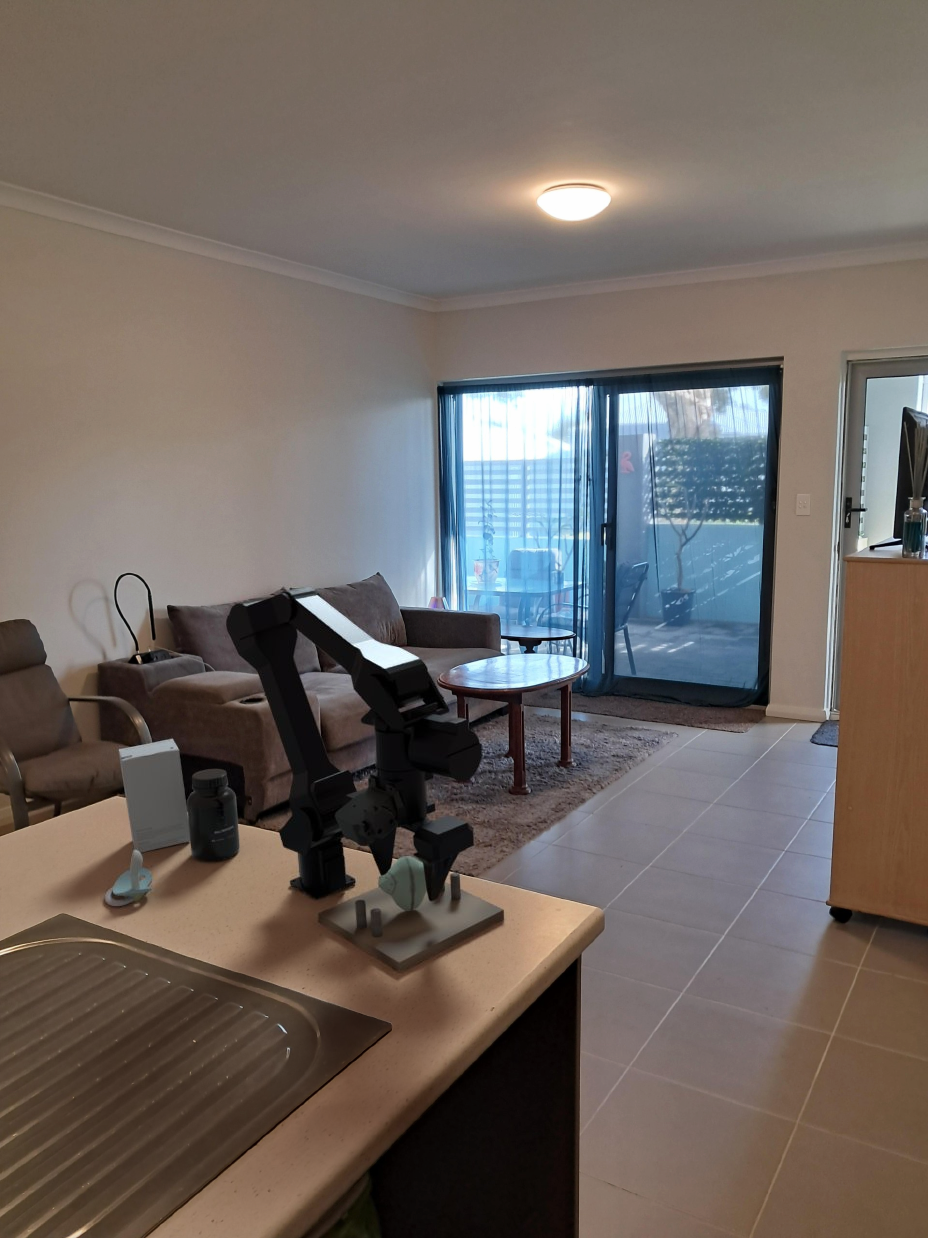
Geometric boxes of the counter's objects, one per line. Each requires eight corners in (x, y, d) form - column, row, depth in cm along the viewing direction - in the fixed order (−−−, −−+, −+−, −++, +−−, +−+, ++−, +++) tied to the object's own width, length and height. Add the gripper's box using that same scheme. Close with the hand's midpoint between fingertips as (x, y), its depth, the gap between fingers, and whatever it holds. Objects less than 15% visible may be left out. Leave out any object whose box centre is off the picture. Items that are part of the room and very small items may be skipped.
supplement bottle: (227, 864, 131) (219, 783, 129) (183, 862, 133) (174, 782, 131) (248, 844, 138) (241, 766, 136) (205, 842, 139) (197, 765, 137)
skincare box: (186, 829, 144) (176, 737, 142) (191, 843, 139) (181, 747, 136) (128, 841, 141) (117, 746, 138) (132, 856, 136) (120, 758, 133)
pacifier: (103, 914, 119) (152, 904, 121) (95, 869, 118) (145, 859, 120) (107, 889, 126) (153, 880, 128) (100, 846, 125) (147, 837, 127)
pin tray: (318, 922, 114) (315, 890, 113) (419, 877, 125) (417, 848, 124) (399, 972, 102) (397, 937, 102) (504, 919, 113) (502, 886, 112)
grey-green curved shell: (382, 925, 110) (378, 872, 109) (372, 908, 114) (369, 857, 113) (445, 910, 113) (443, 858, 112) (434, 894, 117) (432, 844, 115)
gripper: (299, 764, 111) (309, 886, 114) (396, 803, 98) (404, 941, 101) (374, 741, 119) (382, 856, 122) (474, 775, 105) (480, 904, 108)
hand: (408, 887), depth 113 cm, fingers open, 9 cm apart
